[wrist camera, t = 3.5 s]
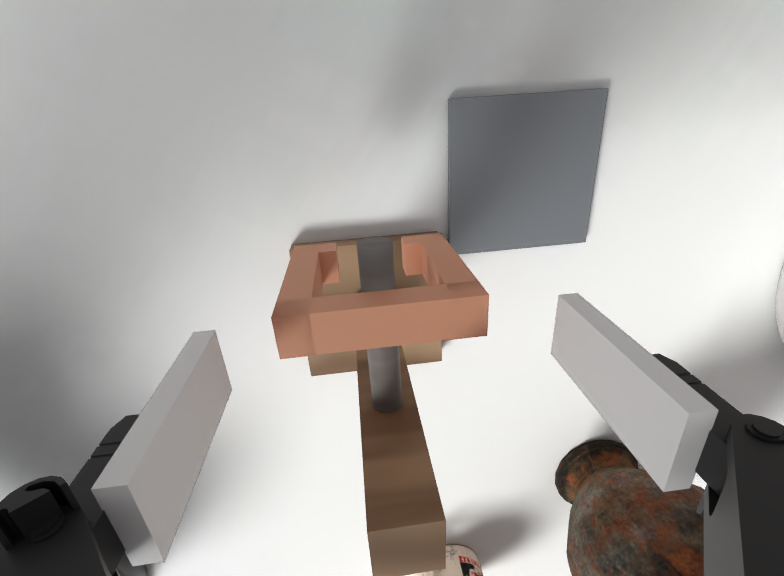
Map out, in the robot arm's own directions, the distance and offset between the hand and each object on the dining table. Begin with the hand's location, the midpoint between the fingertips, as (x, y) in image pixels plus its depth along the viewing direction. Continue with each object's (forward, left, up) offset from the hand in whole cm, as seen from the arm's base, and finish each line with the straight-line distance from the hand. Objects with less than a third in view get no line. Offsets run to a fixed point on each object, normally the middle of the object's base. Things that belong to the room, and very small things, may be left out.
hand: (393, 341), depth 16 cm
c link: (0, 0, -11) cm, 11 cm away
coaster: (+13, +2, -19) cm, 23 cm away
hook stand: (0, -5, -19) cm, 20 cm away
